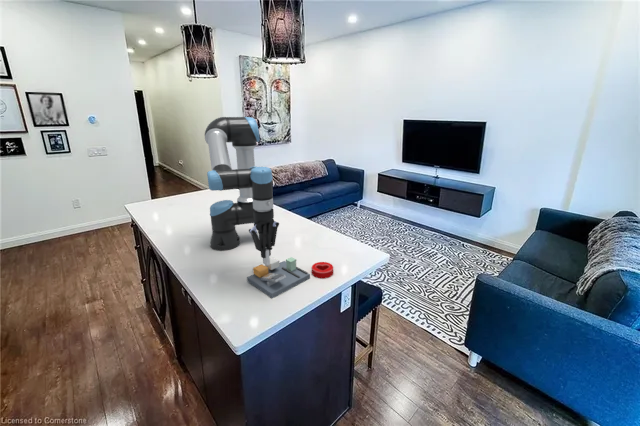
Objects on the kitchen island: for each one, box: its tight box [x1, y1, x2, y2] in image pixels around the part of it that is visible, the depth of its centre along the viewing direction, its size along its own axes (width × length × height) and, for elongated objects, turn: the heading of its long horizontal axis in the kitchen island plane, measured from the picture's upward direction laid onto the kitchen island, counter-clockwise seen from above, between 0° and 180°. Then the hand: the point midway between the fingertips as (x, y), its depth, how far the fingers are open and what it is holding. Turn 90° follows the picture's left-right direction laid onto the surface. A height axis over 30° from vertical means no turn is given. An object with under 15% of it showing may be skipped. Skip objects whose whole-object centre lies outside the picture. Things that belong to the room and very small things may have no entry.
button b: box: [264, 257, 280, 270], centre depth 126 cm, size 4×4×3 cm
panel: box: [246, 260, 311, 299], centre depth 123 cm, size 17×20×4 cm
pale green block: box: [285, 256, 297, 271], centre depth 127 cm, size 3×3×5 cm
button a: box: [252, 263, 268, 278], centre depth 123 cm, size 4×4×3 cm
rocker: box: [261, 273, 286, 282], centre depth 117 cm, size 10×5×1 cm, turn 45°
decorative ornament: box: [311, 261, 334, 279], centre depth 129 cm, size 10×10×3 cm
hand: (266, 263), depth 119 cm, fingers closed
